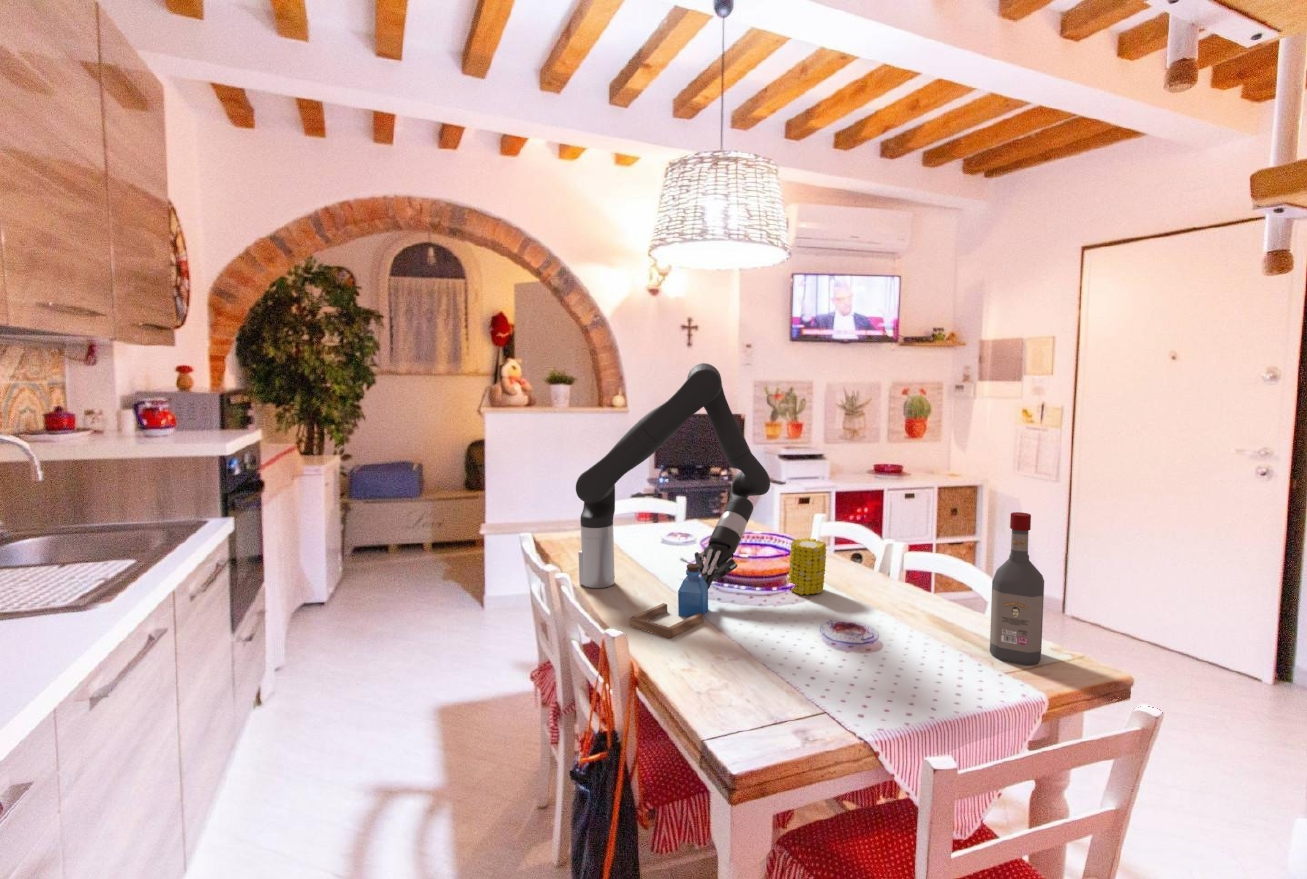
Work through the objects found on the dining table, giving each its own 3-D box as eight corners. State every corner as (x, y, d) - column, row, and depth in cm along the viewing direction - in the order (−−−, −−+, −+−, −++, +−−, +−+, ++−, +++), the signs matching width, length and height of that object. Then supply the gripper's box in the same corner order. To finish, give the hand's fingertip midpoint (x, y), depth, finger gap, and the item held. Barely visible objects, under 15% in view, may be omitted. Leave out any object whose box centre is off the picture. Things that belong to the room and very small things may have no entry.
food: (811, 589, 191) (828, 602, 181) (773, 584, 188) (789, 597, 178) (824, 537, 189) (842, 548, 180) (786, 531, 186) (802, 541, 177)
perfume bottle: (703, 617, 166) (702, 570, 165) (678, 615, 168) (677, 568, 167) (708, 609, 172) (707, 562, 171) (684, 607, 174) (683, 561, 173)
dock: (663, 610, 172) (663, 603, 171) (703, 622, 164) (703, 614, 163) (629, 626, 162) (629, 617, 162) (669, 638, 154) (669, 630, 154)
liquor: (1039, 668, 136) (1045, 520, 132) (988, 659, 140) (993, 516, 137) (1041, 652, 143) (1047, 512, 140) (993, 643, 148) (998, 508, 145)
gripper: (702, 521, 183) (674, 577, 175) (744, 528, 174) (717, 587, 167) (713, 536, 188) (687, 591, 180) (755, 544, 179) (729, 602, 171)
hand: (701, 589), depth 173 cm, fingers closed
